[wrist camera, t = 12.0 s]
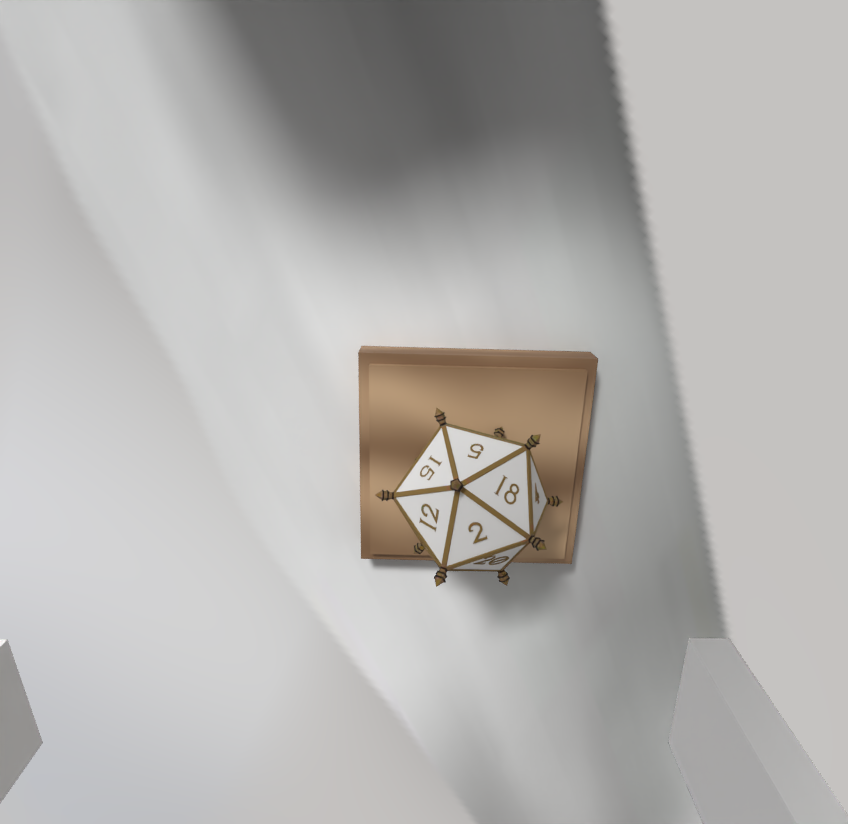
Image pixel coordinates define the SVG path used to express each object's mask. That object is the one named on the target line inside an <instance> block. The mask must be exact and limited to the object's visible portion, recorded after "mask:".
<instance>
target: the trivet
mask: <svg viewBox="0 0 848 824" xmlns="http://www.w3.org/2000/svg"><path fill="white" fill-rule="evenodd" d="M358 355H359V432H360V510H361V559H400V560H433V558H432V557H431V556H430V554H429V553H428V552H427V551H426V549H424V551H423V552H422V553H421V554H414V545H417V543H421V542H420V541H419V539H418V538H417V536H416V535H415V533H414V531H413V530H412V528H411V527H410V525H409V524H408V522H407V521H406V519H405V517H404V516H403V514H402V513H401V511H400V510H399V508H398V506H397V505H396V503H395V502H394V500H393V499H390V500H388V501H386V500H383V501H382V500H381V499H379V498H378V497H377V496H375V494H377V493H379V492H380V491H382V490H384V491H387V490H388V491H389V492H394V490H395V489H396V487H397V486H398V484H399V483H400V482H401V480H402V479H403V477H404V476H405V475H406V473H407V472H408V470H409V469H410V467H411V466H412V465H413V463H414V462H415V458H417V457H418V456H419V455H420V453H421V452H422V450H423V449H424V448H425V446H426V445H427V443H428V442H429V440H430V439H431V438H432V436H433V435H434V433H435V432H436V430H437V429H438V428H439V426H440V424H439V423H438V422H437V421H436V420H437V419H436V417H434V416H435V412H436V407H437V408H438V409H440V410H441V411H442V412H445V413H444V415H445V417H446V423H448V424H452V425H456V426H459V427H463V428H467V429H471V430H475V431H478V432H482V433H486V434H490V435H493V436H494V432H495V429H497V428H500V427H502V428H503V430H504V431H505V432H504V434H503V436H502V438H505V439H508V440H512V441H516V442H520V443H524V444H526V443H527V440H528V439H529V438H530V437H531V435H539V434H541V436H540V441H539V443H540V444H537V445H536V447H533V448H531V449H530V451H531V453H532V456H533V459H534V462H535V465H536V467H537V470H538V473H539V476H540V479H541V481H542V484H543V487H544V490H545V492H546V495H547V498H550V497H552V496H553V497H556V496H558V498H559V499H561V500H562V501H563V502H562V503H561V504H560V505H558V507H556V506H551V505H550V504H548V505H547V507H546V510H545V512H544V515H543V517H542V520H541V522H540V524H539V527H538V529H537V532H536V534H535V537H539V538H541V540H545V542H544V543H545V546H546V549H547V550H539V551H537V550H536V548H533V546H532V544H531V543H530V544H529V545H528V546H527V547H526V548H525V549H524V550H523V551H522V552H521V553H520V554H519V555H518V556H517V557H516V558H515V559H514V560H513V561H512V562H522V563H563V564H572V556H573V548H574V541H575V533H576V525H577V518H578V510H579V502H580V495H581V487H582V479H583V471H584V464H585V456H586V448H587V441H588V433H589V425H590V417H591V410H592V402H593V394H594V387H595V379H596V371H597V363H598V358H597V357H595V356H594V355H593V354H592V353H591V352H571V351H533V350H494V349H456V348H417V347H379V346H361V348H360V351H359V353H358Z"/></svg>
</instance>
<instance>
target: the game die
mask: <svg viewBox="0 0 848 824" xmlns="http://www.w3.org/2000/svg"><path fill="white" fill-rule="evenodd" d="M444 413H445V412H442V411H441V410H440V409H438V408H437V407H436V412H435V416H434V417H436V419H437V420H436V421H437V422H438V423H439V424H440V426H439V428H438V429H437V430H436V432H435V433H434V435H433V436H432V438H431V439H430V440H429V442H428V443H427V445H426V446H425V448H424V449H423V450H422V452H421V453H420V455H419V456H418V457H417V458H415V462H414V463H413V465H412V466H411V467H410V469H409V470H408V472H407V473H406V475H405V476H404V477H403V479H402V480H401V482H400V483H399V484H398V486H397V487H396V489H395V490H394V492H389V491H388V490H387V491H384V490H382V491H380V492H379V493H377V494H375V496H377V497H378V498H379V499H381V500H382V501H383V500H386V501H388V500H390V499H393V500H394V502H395V503H396V505H397V506H398V508H399V510H400V511H401V513H402V514H403V516H404V517H405V519H406V521H407V522H408V524H409V525H410V527H411V528H412V530H413V531H414V533H415V535H416V536H417V538H418V539H419V541H420V542H421V543H417V545H414V554H421V553H422V552H423V551H424V549H426V551H427V552H428V553H429V554H430V556H431V557H432V558H433V560H434V561H435V562H436V563H437V565H438V566H439V567H440V570H439V571H437V573H436V574H437V575H435V577H434V579H435V582H436V587H437V586H438V585H440V584H442V583H443V582H446V581H445V578H447V575H446V572H447V571H497V572H498V578H499V579H500V580H499V582H502V583H503V584H505V585H507V584H508V580H509V579H510V578H509V577H508V573H507V572H505V571H504V569H505V568H506V567H507V566H508V565H509V564H510V563H511V562H512V561H513V560H514V559H515V558H516V557H517V556H518V555H519V554H520V553H521V552H522V551H523V550H524V549H525V548H526V547H527V546H528V545H529V544H530V543H531V544H532V546H533V548H536V550H537V551H539V550H547V549H546V546H545V543H544V542H545V540H541V538H539V537H535V534H536V532H537V529H538V527H539V524H540V522H541V520H542V517H543V515H544V512H545V510H546V507H547V505H548V504H550V505H551V506H556V507H558V505H560V504H561V503H562V502H563V501H562V500H561V499H559V498H558V496H556V497H553V496H552V497H550V498H547V495H546V492H545V490H544V487H543V484H542V481H541V479H540V476H539V473H538V470H537V467H536V465H535V462H534V459H533V456H532V453H531V451H530V449H531V448H533V447H536V445H537V444H540V443H539V441H540V436H541V434H539V435H531V437H530V438H529V439H528V440H527V443H526V444H524V443H520V442H516V441H512V440H508V439H505V438H502V436H503V434H504V432H505V431H504V430H503V428H502V427H500V428H497V429H495V432H494V436H493V435H490V434H486V433H482V432H478V431H475V430H471V429H467V428H463V427H459V426H456V425H452V424H448V423H446V417H445V415H444Z"/></svg>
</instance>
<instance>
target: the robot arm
mask: <svg viewBox="0 0 848 824" xmlns="http://www.w3.org/2000/svg"><path fill="white" fill-rule="evenodd" d="M42 743H43V742H42V739H41V736H40V733H39V730H38V728H37V725H36V722H35V719H34V716H33V713H32V710H31V707H30V704H29V701H28V698H27V695H26V692H25V689H24V686H23V684H22V681H21V678H20V675H19V672H18V669H17V666H16V663H15V660H14V657H13V654H12V651H11V649H10V646H9V643H8V640H7V639H6V640H5V639H3V640H1V639H0V803H1V802H2V800H3V799H4V798H5V796H6V794H7V793H8V792H9V790H10V789H11V787H12V786H13V785H14V783H15V782H16V780H17V779H18V777H19V776H20V775H21V773H22V772H23V770H24V769H25V767H26V766H27V764H28V763H29V762H30V760H31V759H32V757H33V756H34V755H35V753H36V752H37V750H38V749H39V747H40V746H41V744H42ZM668 744H669V746H670V748H671V751H672V753H673V755H674V758H675V760H676V762H677V765H678V767H679V769H680V771H681V774H682V776H683V778H684V781H685V783H686V785H687V788H688V790H689V792H690V795H691V797H692V799H693V801H694V804H695V806H696V808H697V811H698V813H699V815H700V818H701V820H702V822H703V824H848V814H847V813H846V811H845V810H844V808H843V807H842V805H841V804H840V802H839V801H838V799H837V798H836V796H835V795H834V793H833V792H832V791H831V789H830V787H829V786H828V784H827V783H826V781H825V780H824V779H823V777H822V776H821V774H820V773H819V771H818V770H817V768H816V767H815V765H814V764H813V762H812V761H811V759H810V758H809V756H808V755H807V753H806V752H805V750H804V749H803V747H802V746H801V744H800V743H799V741H798V740H797V738H796V737H795V735H794V734H793V732H792V731H791V729H790V728H789V726H788V725H787V723H786V722H785V721H784V719H783V718H782V716H781V715H780V713H779V712H778V710H777V709H776V707H775V706H774V704H773V703H772V701H771V700H770V698H769V697H768V695H767V694H766V692H765V691H764V689H763V688H762V686H761V685H760V683H759V682H758V680H757V679H756V678H755V676H754V674H753V673H752V672H751V670H750V668H749V667H748V665H747V664H746V663H745V661H744V660H743V658H742V657H741V655H740V654H739V652H738V651H737V649H736V648H735V646H734V645H733V643H732V642H731V640H730V639H729V638H689V639H688V644H687V649H686V654H685V660H684V665H683V670H682V675H681V680H680V685H679V690H678V695H677V700H676V705H675V710H674V715H673V720H672V725H671V730H670V736H669V741H668Z"/></svg>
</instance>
